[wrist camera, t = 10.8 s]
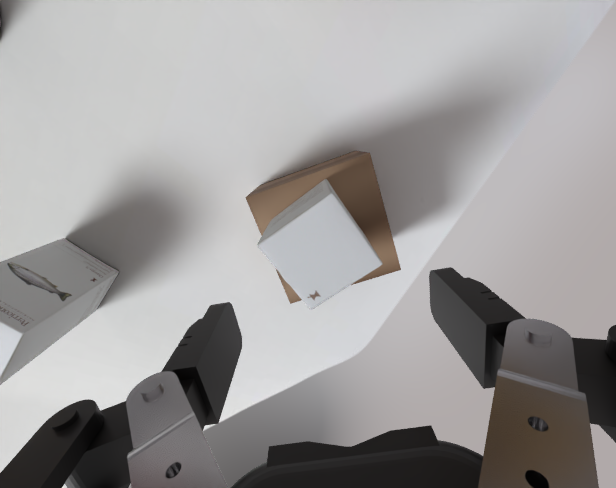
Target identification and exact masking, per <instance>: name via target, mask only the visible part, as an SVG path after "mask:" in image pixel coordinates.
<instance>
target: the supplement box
mask: <svg viewBox="0 0 616 488" xmlns="http://www.w3.org/2000/svg"><path fill="white" fill-rule="evenodd" d="M118 273H119V271H117V270H115V269H114V268H112V267H110V266H108V265H106V264H105V263H103V262H101V261H99V260H98V259H96V258H95V257H93V256H91V255H90V254H88V253H86V252H85V251H83V250H82V249H80V248H78V247H77V246H75V245H74V244H72V243H71V242H69V241H68V240H66V239H64V238H63V239H60V240H57V241H55V242H52V243H49V244H47V245H44V246H42V247H39V248H36V249H34V250H31V251H28V252H26V253H23V254H21V255H18V256H15V257H13V258H10V259H7V260H5V261H2V262H0V385H1V384H2V383H3V382H5V381H6V380H7V379H8V378H10V377H11V376H12V375H14V374H15V373H16V372H17V371H19V370H20V369H21V368H23V367H24V366H25V365H26V364H28V363H29V362H30V361H32V360H33V359H34V358H35V357H37V356H38V355H39V354H41V353H42V352H43V351H44V350H46V349H47V348H48V347H50V346H51V345H52V344H53V343H55V342H56V341H57V340H59V339H60V338H61V337H62V336H64V335H65V334H66V333H68V332H69V331H70V330H72V329H73V328H74V327H75V326H77V325H78V324H79V323H81V322H82V321H83V320H84V319H86V318H87V317H88V316H90V315H91V314H92V313H93V312H95V311H96V309H97V308H98V306H99V304H100V303H101V301H102V299H103V298H104V296H105V295H106V293H107V291H108V290H109V288H110V286H111V285H112V283H113V281H114V280H115V278H116V276H117V275H118Z"/></svg>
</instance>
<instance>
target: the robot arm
mask: <svg viewBox="0 0 616 488" xmlns="http://www.w3.org/2000/svg"><path fill="white" fill-rule="evenodd" d="M0 25H1V18H0ZM429 281H430V306H431V312H432V315H433V317H434V320H435V321H436V323H437V324H438V325H439V327H440V328H441V330H442V331H443V332H444V334H445V335H446V337H447V338H448V339H449V341H450V342H451V344H452V345H453V346H454V348H455V349H456V351H457V352H458V354H459V355H460V356H461V358H462V359H463V361H464V362H465V363H466V365H467V366H468V367H469V369H470V370H471V372H472V373H473V374H474V376H475V377H476V379H477V380H478V381H479V383H480V384H481V386H482V387H483V388H484V389H485V388H492V387H495V391H494V397H493V403H492V408H491V415H490V420H489V426H488V432H487V438H486V444H485V450H484V456H482V455H480V454H478V453H476V452H474V451H472V450H470V449H467V448H465V447H462V446H460V445H457V444H453V443H449V442H445V441H438V440H437V438H436V436H435V434H434V431H433V429H432V427H431V426H423V427H416V428H408V429H401V430H393V431H389V432H386V433H384V434H381V435H379V436H377V437H374V438H372V439H369V440H367V441H365V442H362V443H360V444H357V445H355V446H352V447H344V446H337V445H329V444H322V443H315V442H300V443H292V444H285V445H277V446H270V447H269V451H268V459H267V462H266V463H263V464H261V465H260V466H258V467H256V468H254V469H253V470H251V471H250V472H248V473H247V474H246V475H244V476H243V477H242V478H241V479H239V480H238V481H237V482H236V483H235V484H234V485H233V486H232V487H231V488H599V486H598V479H597V471H596V464H595V458H594V450H593V443H592V435H591V428H590V423H591V424H597V425H600V426H601V428H602V429H603V430H604V431H605V432H606V433H607V434H608V435H609V436H610V437H611V438H612V439H613V440H614V441H615V442H616V325H614V326H612V327H611V328H610V329H609V331H608V336H607V340H597V339H581V338H571V336H570V335H569V334H568V333H567V332H566V331H565V330H563V329H562V328H560V327H558V326H556V325H554V324H552V323H549V322H545V321H542V320H537V319H526V318H525V317H523V316H522V315H521V314H520V313H519V312H517V311H516V310H515V309H513V308H512V307H511V306H510V305H509V304H507V303H506V302H505V301H503V300H502V299H500V298H499V296H497V295H496V294H495V293H494V292H492V291H491V290H490V289H489V288H488V287H486V286H485V285H484V284H483V283H481V282H478V281H476V280H473V279H471V278H463V277H462V276H461V275H460V274H459V273H458V272H456V271H455V270H454V269H453V268H444V269H437V270H432V271H431V272H430V276H429ZM241 349H242V336H241V332H240V329H239V326H238V322H237V319H236V316H235V313H234V309H233V306H232V304H231V303H230V302H227V303H221V304H215V305H211V306H210V307H209V308H208V310H207V312H206V313H205V315H204V317H203V319H199V320H198V321H196V322H195V323H194V324H193V325H192V326H191V327H190V328H189V329H188V330H187V332H186V333H185V335H184V337H183V339H182V340H181V341H180V343H179V345H178V347H177V348H176V349H175V351H174V352H173V354H172V356H171V357H170V359H169V360H168V362H167V364H166V365H165V367H164V368H163V370H162V372H160V373H156V374H154V375H152V376H150V377H148V378H146V379H144V380H143V381H142V382H140V383H139V384H138V385H137V386H136V387H135V388H134V389H133V390H132V391H131V392H130V394H129V395H128V397H127V400H126V401H125V402H122V403H120V404H117V405H114V406H112V407H109V408H107V409H104V410H101V411H100V410H99V408H98V406H97V404H96V403H95V401H93V400H82V401H79V402H76V403H73V404H71V405H69V406H67V407H65V408H64V409H62V410H60V411H59V412H57V413H56V414H54V415H53V416H52V417H51V418H49V419H48V420H47V421H46V422H45V423H44V424H43V425H42V426H41V427H40V429H39V430H38V431H37V432H36V433H35V434H34V435H33V437H32V438H31V439H30V440H29V441H28V442H27V443H26V445H25V446H24V447H23V448H22V449H21V450H20V451H19V453H18V454H17V455H16V456H15V457H14V458H13V459H12V461H11V462H10V463H9V464H8V465H7V466H6V467H5V468H4V470H3V471H2V472H1V473H0V488H62V486H63V485H64V483H65V485H66V486H67V488H128V487H129V485H130V483H131V487H132V488H228V486H227V484H226V482H225V480H224V477H223V475H222V473H221V471H220V468H219V467H218V464H217V462H216V460H215V458H214V455H213V453H212V451H211V449H210V447H209V444H208V442H207V440H206V438H205V436H204V434H203V429H204V426H205V425H211V424H218V423H219V419H220V416H221V413H222V410H223V407H224V403H225V400H226V397H227V394H228V391H229V387H230V384H231V381H232V378H233V375H234V371H235V368H236V365H237V362H238V359H239V356H240V352H241Z"/></svg>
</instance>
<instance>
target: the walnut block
mask: <svg viewBox="0 0 616 488" xmlns="http://www.w3.org/2000/svg"><path fill="white" fill-rule="evenodd" d="M325 179H327V180H328V182H329V183H330V185H331V186H332V188H333V190H334V191H335V193H336V194H337V196H338V197H339V198H340V200H341V201H342V203H343V204H344V206H345V207H346V209H347V210H348V211H349V213H350V214H351V216H352V217H353V219H354V220H355V222H356V223H357V225H358V226H359V227H360V229H361V230H362V231H363V233H364V234H365V236H366V238H367V239H368V241H369V243H370V244H371V246H372V247H373V249H374V250H375V252H376V253H377V255H378V256H379V258H380V260H381V261H382V265H381V266H380V267H378V268H376V269H375V270H373V271H372V272H370V273H368V274H367V275H365V276H364V277H362V278H360V279H359V280H357V281H356V282H354V283H353V284H356V283H359V282H362V281H366V280H369V279H372V278H375V277H379V276H382V275H385V274H388V273H392V272H395V271H398V270H401V268H400V264H399V261H398V257H397V253H396V249H395V246H394V242H393V238H392V234H391V231H390V227H389V223H388V219H387V215H386V212H385V208H384V204H383V200H382V197H381V193H380V189H379V185H378V182H377V178H376V174H375V170H374V167H373V163H372V159H371V155H370V153H367V152H360V151H354V152H351V153H348V154H345V155H342V156H340V157H337V158H334V159H331V160H329V161H326V162H323V163H320V164H318V165H315V166H312V167H309V168H306V169H304V170H301V171H298V172H295V173H293V174H290V175H287V176H284V177H282V178H279V179H276V180H273V181H271V182H268V183H265V184H262V185H260V186H259V187H257V188H256V189H255V190H254V191H253V192H251V193H250V194H249V195H248V196H247V197H246V200H247V202H248V204H249V207H250V209H251V212H252V214H253V216H254V219H255V221H256V223H257V226H258V228H259V230H260V233H261V235H263V233H264V231H265V230H266V228H267V226H268V224H269V223H270V221H271V220H272V219H273V218H274V217H275V216H277V215H278V214H279V213H281V212H282V211H283V210H285V209H286V208H287V207H289V206H290V205H291V204H293V203H294V202H295V201H296V200H298V199H299V198H300V197H302V196H303V195H304V194H306V193H307V192H308V191H310V190H311V189H312V188H314V187H315V186H316V185H318V184H319V183H320V182H322V181H323V180H325ZM276 271H277V273H278V275H279V278H280V280H281V282H282V285H283V287H284V289H285V292H286V294H287V297H288V299H289V301H290V304H291V303H294V302H297V301H301V300H302V299H301V298H300V297H299V296H298V295H297V293H296V292H295V291H294V290H293V288H292V287H291V286H290V285H289V284H288V283H287V282H286V281H285V280H284V279H283V277H282V276H281V274H280V273H279V272H278V270H277V269H276ZM353 284H351V285H353Z"/></svg>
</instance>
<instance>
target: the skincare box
mask: <svg viewBox="0 0 616 488" xmlns="http://www.w3.org/2000/svg"><path fill="white" fill-rule="evenodd" d="M257 246H258V248H259V249H260V250H261V251H262V253H263V254H264V255H265V256H266V257H267V258H268V260H269V261H270V262H271V263H272V264H273V265H274V267H275V268H276V269H277V270H278V272H279V273H280V274H281V276H282V277H283V279H284V280H285V281H286V282H287V283H288V284H289V285H290V286H291V287H292V288H293V290H294V291H295V292H296V293H297V295H298V296H299V297H300V298H301V299H302V301H303V302H304V303H305V304H306V305H307V307H308V308H309V309H314V308H315V307H317V306H318V305H320V304H321V303H323V302H325V301H326V300H328V299H329V298H331V297H332V296H334V295H335V294H337V293H339V292H340V291H342V290H343V289H345V288H346V287H348V286H349V285H351V284H353V283H354V282H356V281H357V280H359V279H360V278H362V277H364V276H365V275H367V274H368V273H370V272H372V271H373V270H375V269H376V268H378V267H380V266H381V265H382V261H381V260H380V258H379V256H378V255H377V253H376V252H375V250H374V249H373V247H372V246H371V244H370V243H369V241H368V239H367V238H366V236H365V234H364V233H363V231H362V230H361V229H360V227H359V226H358V225H357V223H356V222H355V220H354V219H353V217H352V216H351V214H350V213H349V211H348V210H347V209H346V207H345V206H344V204H343V203H342V201H341V200H340V198H339V197H338V196H337V194H336V193H335V191H334V190H333V188H332V186H331V185H330V183H329V182H328V180H327V179H325V180H323V181H322V182H320V183H319V184H318V185H316V186H315V187H314V188H312V189H311V190H310V191H308V192H307V193H306V194H304V195H303V196H302V197H300V198H299V199H298V200H296V201H295V202H294V203H293V204H291V205H290V206H289V207H287V208H286V209H285V210H283V211H282V212H281V213H279V214H278V215H277V216H275V217H274V218H273V219H272V220H271V221H270V223H269V224H268V226H267V228H266V230H265V231H264V233H263V235H262V237H261V239H260V241H259V242H258V244H257Z"/></svg>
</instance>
